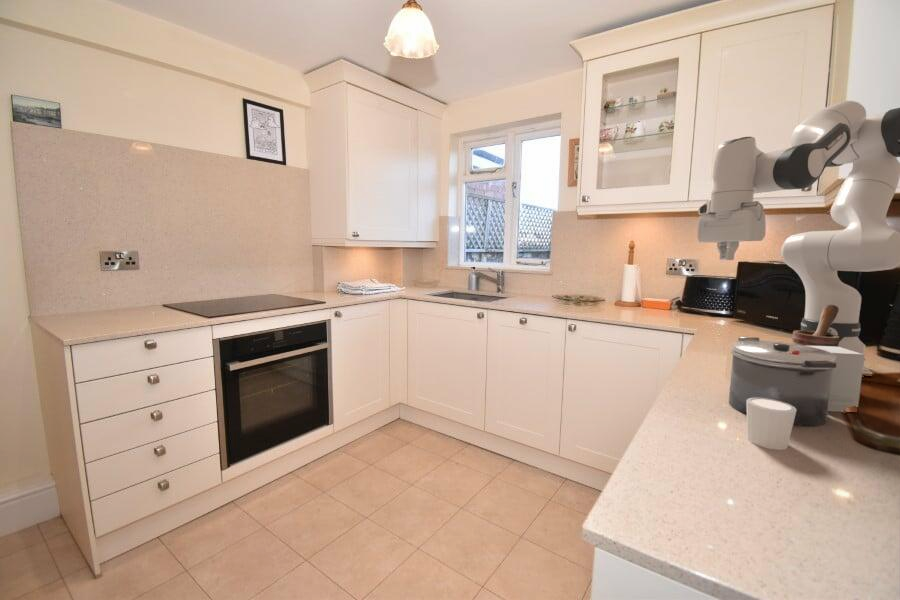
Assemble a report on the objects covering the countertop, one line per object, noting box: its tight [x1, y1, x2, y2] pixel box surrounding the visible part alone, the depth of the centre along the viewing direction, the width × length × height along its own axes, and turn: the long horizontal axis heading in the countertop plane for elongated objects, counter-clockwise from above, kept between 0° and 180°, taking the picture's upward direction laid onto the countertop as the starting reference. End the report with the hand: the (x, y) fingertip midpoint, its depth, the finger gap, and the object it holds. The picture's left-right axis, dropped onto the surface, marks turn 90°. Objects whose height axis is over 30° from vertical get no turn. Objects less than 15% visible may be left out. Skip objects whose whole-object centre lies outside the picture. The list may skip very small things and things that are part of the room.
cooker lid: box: [731, 336, 837, 368], centre depth 83 cm, size 20×17×2 cm
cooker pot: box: [728, 349, 833, 428], centre depth 84 cm, size 17×17×12 cm
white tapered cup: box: [746, 398, 796, 451], centre depth 70 cm, size 7×7×7 cm
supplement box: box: [808, 346, 865, 413], centre depth 87 cm, size 7×7×13 cm
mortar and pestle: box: [791, 305, 839, 347], centre depth 101 cm, size 12×9×20 cm
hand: (726, 260), depth 103 cm, fingers closed
